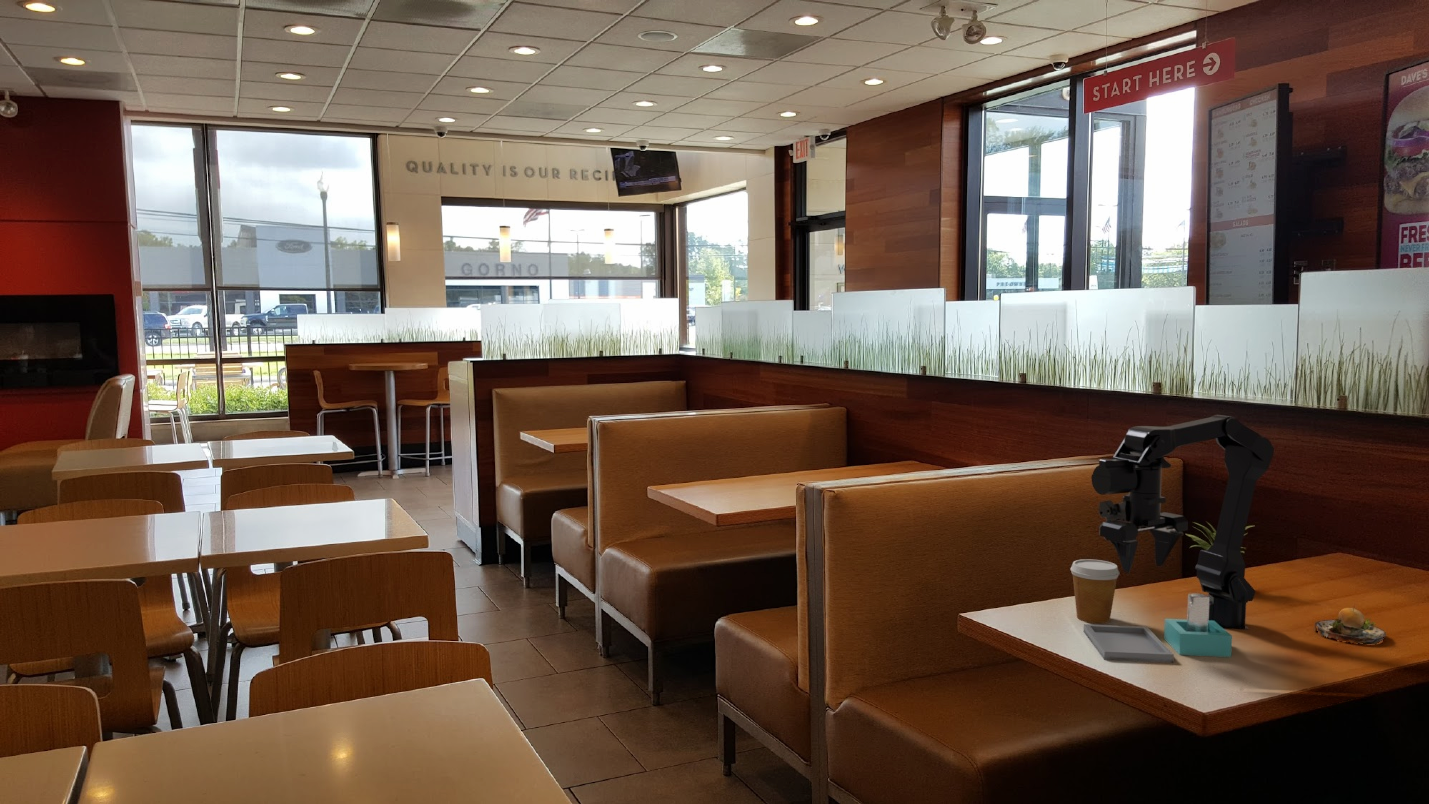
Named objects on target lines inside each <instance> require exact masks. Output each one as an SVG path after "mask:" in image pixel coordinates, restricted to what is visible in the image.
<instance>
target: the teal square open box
mask: <svg viewBox="0 0 1429 804" xmlns="http://www.w3.org/2000/svg"><path fill="white" fill-rule="evenodd" d="M1163 632H1164V635H1163V639H1164V641H1166V643H1167V644H1168V645H1170V647H1171V648H1172V649H1173V650H1174V652H1176V653H1177V654H1178V655H1179V656H1194V657H1195V656H1198V657H1220V658H1222V657H1223V658H1232V643H1233V635H1232V634H1231V633H1230V632H1228V631H1227V629H1223V628H1222V627H1221V626H1220V625H1219V624H1217V623H1216V622H1215V621H1211V620H1208V632H1188V631H1187V619H1184V618H1183V619H1181V618H1180V619H1179V618H1177V619H1176V618H1164V631H1163Z"/></svg>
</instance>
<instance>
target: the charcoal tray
mask: <svg viewBox="0 0 1429 804" xmlns="http://www.w3.org/2000/svg"><path fill="white" fill-rule="evenodd" d="M1083 633H1084V635H1085V636H1086V637H1087V639H1088V640H1089V641H1090V643H1091V644H1092V646H1093V647H1094V648H1095V649H1096V650H1097V652H1098V653H1099V655H1100V656H1101V657H1102V659H1103V660H1104V661H1121V662H1123V661H1124V662H1126V661H1127V662H1146V663H1147V662H1148V663H1149V662H1150V663H1166V664H1167V663H1170V664H1171V663H1174V660H1175V659H1174V655H1175V654H1174V653H1173V652H1172V651H1171V650H1170V649H1169V648H1168V647H1167V646H1166V645H1165V644H1164V643H1163V642H1162V641H1161V640H1160V638H1159V637H1158V636H1156V634H1155V633H1154V632H1152V630H1151V629H1150V628H1148V626H1133V625H1113V624H1112V625H1109V624H1108V625H1107V624H1090V623H1088V624H1086V623H1085V624H1084V623H1083Z"/></svg>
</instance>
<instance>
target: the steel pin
mask: <svg viewBox="0 0 1429 804" xmlns="http://www.w3.org/2000/svg"><path fill="white" fill-rule="evenodd" d="M1186 614H1187V615H1186V617H1187V618H1186V620H1187V631H1188V632H1208V620H1209V596H1208V594H1202V593H1197V592H1196V593H1193V592H1191V593H1188V595H1187V612H1186Z"/></svg>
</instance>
